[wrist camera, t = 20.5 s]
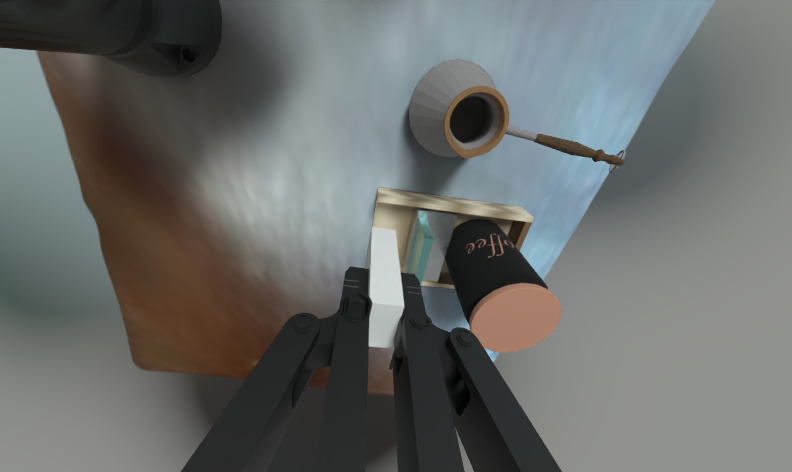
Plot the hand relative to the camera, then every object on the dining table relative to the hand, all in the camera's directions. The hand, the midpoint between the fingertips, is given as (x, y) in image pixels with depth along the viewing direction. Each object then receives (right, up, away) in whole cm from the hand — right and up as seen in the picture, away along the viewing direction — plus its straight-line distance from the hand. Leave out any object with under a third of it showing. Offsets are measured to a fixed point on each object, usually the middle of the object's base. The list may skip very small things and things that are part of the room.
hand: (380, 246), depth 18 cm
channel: (+9, 0, +30) cm, 32 cm away
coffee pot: (+13, +17, +21) cm, 30 cm away
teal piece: (+6, 0, +29) cm, 30 cm away
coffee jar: (+14, -1, +31) cm, 34 cm away
